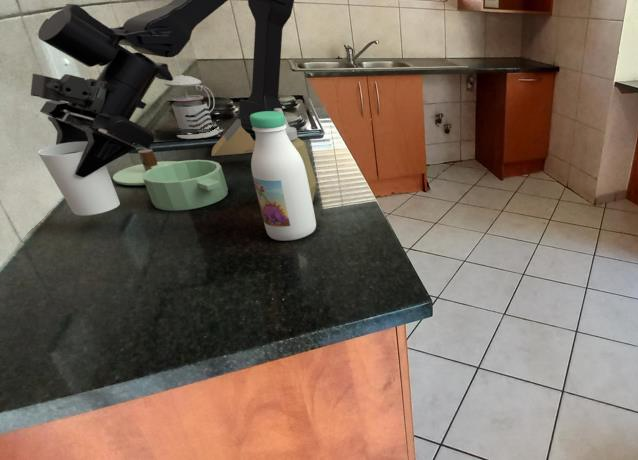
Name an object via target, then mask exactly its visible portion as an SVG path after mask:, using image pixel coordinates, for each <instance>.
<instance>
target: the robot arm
mask: <svg viewBox="0 0 638 460" xmlns="http://www.w3.org/2000/svg"><path fill="white" fill-rule="evenodd" d="M228 1H229V0H172V1H170V2H169V3H168V4H166V5H164V6H161V7H157V8H154V9H151V10H147V11H144V12H142V13H140V14H137V15H135V16H132V17H130V18H128V19H127V20H126V21H125V22H124V23H123V25H122V26H117V27H108V26H107V25H106V24H104V23H102V22H101V21H100V20H98V19H96V18H95V17H93V16H92V15H91V14H89V12H88V11H86V9H84V8H83V7H81V6H79V5H78V4H75V3H74V4H73V3H66V5H65V6H64V7H63V9H60V10H58V11H56V12H55V13H54V14H52V16H50V17H49V18H45V20H44V21H43V22H42V24H41V26H40V27H39V29H38V33H37V34H38V35H37V37H38V39H39V40H40V41H42V42H44V43H46V44H47V45H49V46H51V47H52V48H54V49H55V50H57V51H59V52H62V53H63V54H65V55H66V56H68V57H70V58H72V59H74V60H75V61H77V62H79V63H81V64H82V65H84V66H86V67H88V68H92V67H95V66H99V67H103V69H102V70H101V72H100V73H99V75H98V77H97V78H96V79H95V78H84V77H80V76H77V75H73V74H67V73H65V74H63V76H61V78H60V79H59V78H56V77H51V76H46V75H42V74H39V73H32V78H31V86H30V96H31V97H37V98H41V99H45V100H47V101H45V103H44V104H43V106H42V107H41V109H40V110H39V112H40V113H42V114H44V115H46V116H47V120H48V121H50V122H51V124H52V126H53V127H54V129H55V130H56V141H55V145H57V144H62V143H70V142H84V141H86V142H88V143H87V145H86V148H85V150H84V152H83V155H82V157H81V159H80V162H79V164H78V166H77V169H76V172H75V174H76V175H78V176H80V177H86V176H88V175H89V174H91V173H93V172H95V171H96V170H98V169H100V168H101V167H103V166H105V165H106V166H107V165H108V164H110V163H112V162H114V161H116V160H117V159H120V158H121V157H123V156H125V155H127V154H129V153H130V152H136V151H137V148H141V149H143V150H144V149H148V150H149V149H151V147H152V145H153V144H154V142H155V140H156V139H155V136H154V133H153V131H152V130H150V129H148V128H146V127H144V126H142V125H140V124H139V123H136V122H134V121H132V120H131V118H132V117H133V115H134V113H135V112H136V110H137V109H140V110H144V109H145V107H146V105H147V103H146V102H144V101H143V99H144V97H145V95H146V94H147V93H148V90H149V89H150V88H151V86H152V85H153V82H155V79H159V80H163V81H166V80H168V81H172V80H173V77H174V76H173V75H172V73H171V71H170V69H169V65H168V64H167V63H164V62H163V63H162V62H156V61H154V60H153V59H151V58H150V57H148V56H155V57H162V58H175V56H176V57H177V56H178V55H179V54H180V53H181V52H182V51H183V49H184V48H185V47H186V46H187V44H188V43H189V42H190V40H191V37H192V33H193V31H194V29H195V28H196V27H197V26H198V25H199V24H200V23H202V22H203V21H204V20H205V19H207V18H208V17H209V16H210V15H212V14H213V13H214V12H215V11H217V10H218V9H219V8H221V7H222V6H223V5H224V4H225V3H226V2H228ZM294 4H295V0H247V5H248V8H249V10H250V13H251V15H252V17H253V19H254V39H253V42H254V43H253V59H252V60H253V63H252V79H251V93H250V95H249V96H248V98H247V99H246V100H245V99H240V100H239V103H238V106H239V113H238V116H237V119H241V126H242V128H243V129H244V130H245V131H246V132H247V133H249V134H250V136H251V137H252V139H253V140H254V141H256V134H255V131H254V130H253V129H252V128H253V127H252V125H251V121H250V115H251V114H254V113H257V112H264V111H274V109H275V108H281V109H282V111H283V113H284V116H285V117H286V112H285V110H284V108H283V105H282V103H281V101H280V98H279V91H280V77H281V76H280V75H281V61H282V60H281V59H282V42H283V29H284V27H285V26H286V24H287V22H288V20H289V19H290V18H291V16H292V11H293V8H294ZM124 46H128V47H130V48H132V49H133V50H134V51H135V52H131V51H130V50H128V49H127V48H125V47H124ZM146 55H148V56H146ZM289 127H291V126H290V125H289ZM297 135H298V136H299V132H298V131H297ZM133 145H134V146H133ZM135 146H136V147H137V148H136V147H135Z"/></svg>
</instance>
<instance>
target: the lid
mask: <svg viewBox="0 0 638 460" xmlns="http://www.w3.org/2000/svg"><path fill="white" fill-rule="evenodd" d="M137 154H138V157H139V159H140V162H141V164H136V165H133V166H129V167H126V168H123V169H121V170H119V171H117V172H115V173H113V175H112V181H114V182H115V184H119V185H125V186H146V185H145V183H144V180H143V177H142V175H143V174H144V173H145V172H146V171H147V170H150V169H151V167H153V166H156V165H160V164H168V163H173V162H178V161H175V160H167V161H166V160H163V161H157V159H156V155H155V153H154V150H153V149H151V148H150V149H149V150H148V149H144V148H143V149H140V150H138V151H137Z"/></svg>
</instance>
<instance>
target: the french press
mask: <svg viewBox="0 0 638 460" xmlns="http://www.w3.org/2000/svg"><path fill="white" fill-rule="evenodd" d="M174 59H175V62H176V66H177V69H178V72H179V75H176V76H175V75H174V76H172V77H173V80H172V81H168V80H164V82H163V84H164V85H165V86H166V87H175V88H178V87H179V88H182V87H183V88H184V89H183V90H184V92H185V94H184V95H177V96H172V97H171V98H170V99H171V102H173V103H171V107H172V110H173V113H174V117H175V120H176V122H177V125H178V126H177V127H178V129H179V128H181V129H200V128H201V127H203V126H204V125H206V124H208V126H207V127H205V128H204V129H209V128H211V127H212V126H213V127H214V124H213V121H212V117H211V113H212V112H213V110H214V109H215V105H216V100H215V97H214V93H213V92H212V90H211V89H210V88H208V87H207V86H205V85H201V84H202V80H201V79H199V78H197V77H196V78H195V77H193V76H191V75H183V74H182V72H181V70H180V67H179V63H178V59H177V55H176V56H174ZM194 86H195V88H196V90H197V91H198V92H202V91H203V90H204V91H205V93H206V94H207V98H208V103H207V102H206V101H203V102H202V100H204V98H205V97H204V96H203V95H200V94H188V92H187V89H186V87H194ZM198 87H200V89H198ZM207 90H208V91H207ZM209 93H210V94H211V96H212V101H213V106H212V108H211V109H210V107H211V98H210V95H209ZM209 109H210V110H209ZM196 124H201V125H200V126H197V127H194V128H193V127H189V125H196ZM210 124H212V125H210ZM202 130H203V129H202ZM219 133H220V131H219V129H217V128H215V129H214V130H212V131H210V132H206V133H199V134H188V135H177V134H176V137H177V138H180V139H186V140H190V139H191V140H193V139H202V138H204V139H205V138H209V137H214V136H216V135H218V134H219Z"/></svg>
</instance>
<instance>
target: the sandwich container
mask: <svg viewBox="0 0 638 460" xmlns="http://www.w3.org/2000/svg"><path fill="white" fill-rule="evenodd" d="M254 148H255V141H254V140H253V139H252V137H251V136H250V134H249V133H247V132H246V131H245V130H244V129H243V128H242V126H241V119H238V118H236V120H235V121H234V122H233V124H232V125H230V126H229V127H228V129H227V130H226V132H224V134H223V135H222V136H221V137H220V139H218V141H217V142H216V143H215V144H214V145H213V147H212V150H211V157H216V156H217V157H218V156H229V155H240V154H249V153H251V154H253V152H254Z"/></svg>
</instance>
